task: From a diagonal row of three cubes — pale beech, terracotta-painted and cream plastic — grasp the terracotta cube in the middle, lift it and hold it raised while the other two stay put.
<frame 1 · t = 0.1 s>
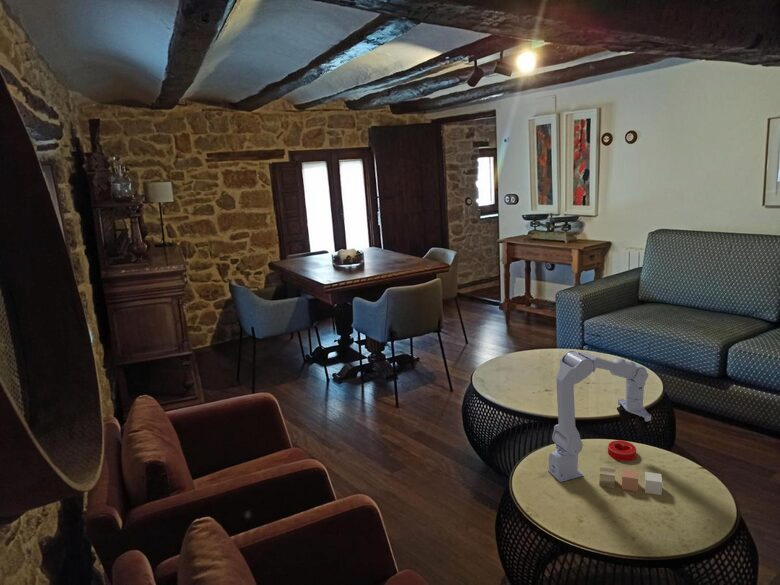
hand: (633, 430, 195), 10 cm above the table, fingers open, 7 cm apart
terracotta cube: (629, 486, 181), on the table
decorative ornament: (621, 454, 199), on the table
cream cube: (652, 489, 178), on the table
beech cube: (607, 482, 183), on the table
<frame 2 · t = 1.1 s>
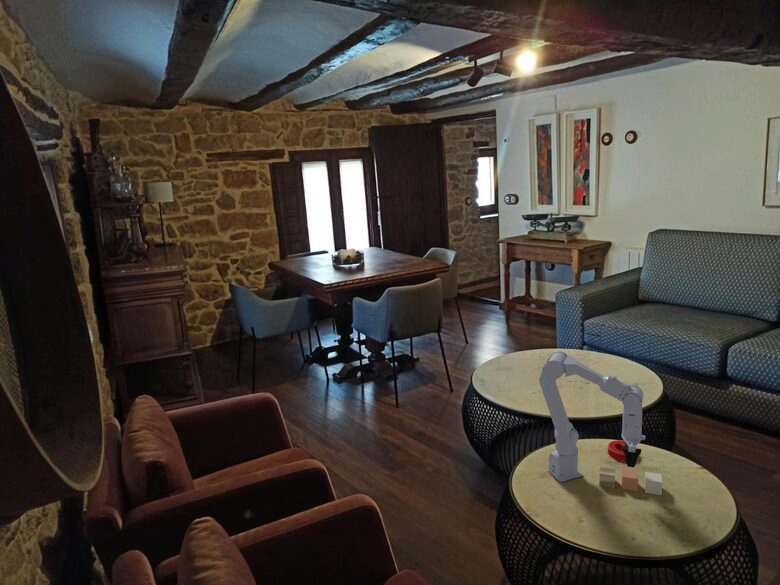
hand: (630, 460, 178), 10 cm above the table, fingers open, 7 cm apart
nothing on the table moved.
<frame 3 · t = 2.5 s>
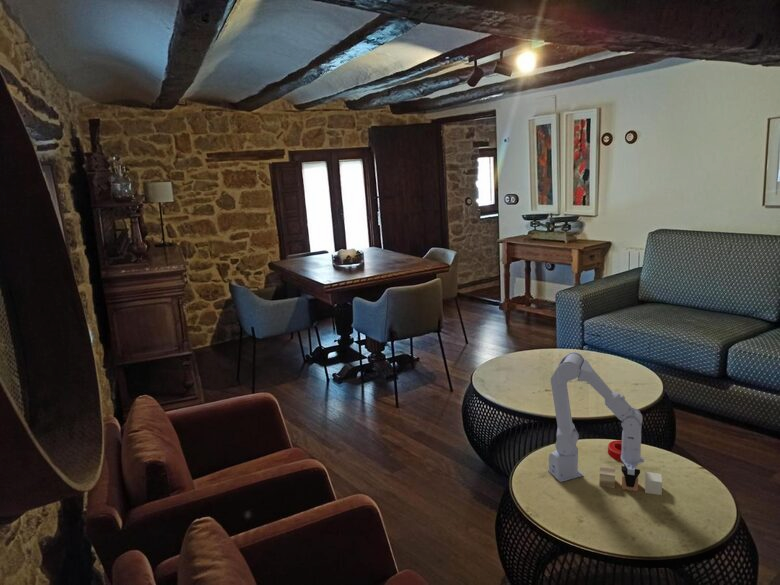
hand: (629, 481, 180), 2 cm above the table, fingers closed on terracotta cube, 5 cm apart
terracotta cube: (629, 486, 181), on the table, touching gripper
everything else where it was.
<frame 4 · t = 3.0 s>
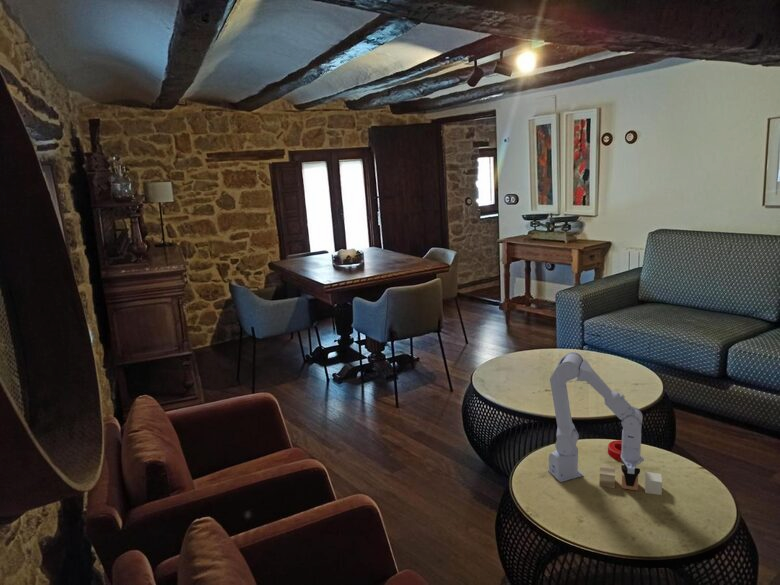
hand: (629, 480, 180), 2 cm above the table, fingers closed on terracotta cube, 5 cm apart
terracotta cube: (629, 485, 181), on the table, touching gripper
everything else where it was.
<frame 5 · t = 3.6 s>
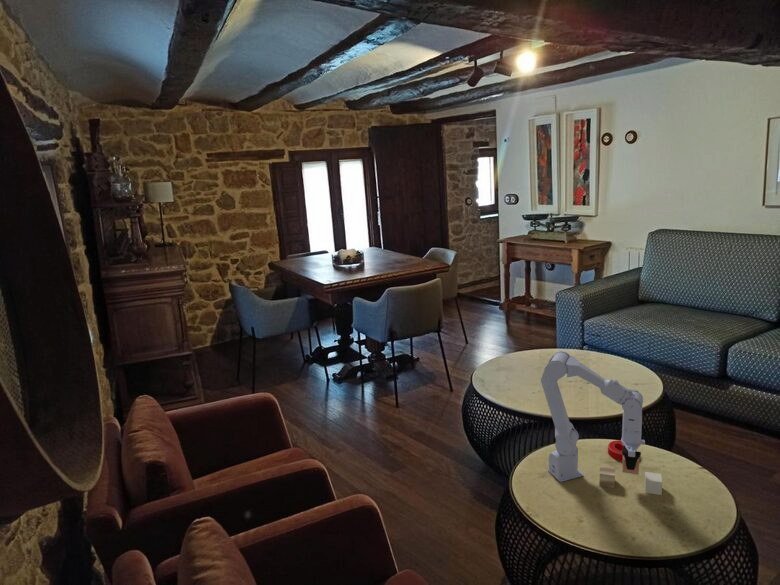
hand: (630, 464, 179), 8 cm above the table, fingers closed on terracotta cube, 5 cm apart
terracotta cube: (630, 469, 179), point 6 cm above the table, touching gripper
everything else where it was.
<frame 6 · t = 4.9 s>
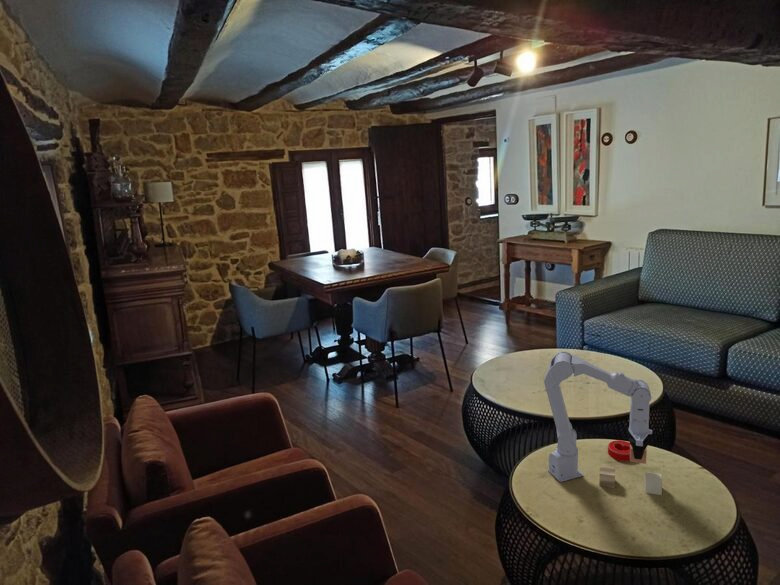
hand: (637, 454, 180), 10 cm above the table, fingers closed on terracotta cube, 5 cm apart
terracotta cube: (637, 458, 181), point 8 cm above the table, touching gripper
everything else where it was.
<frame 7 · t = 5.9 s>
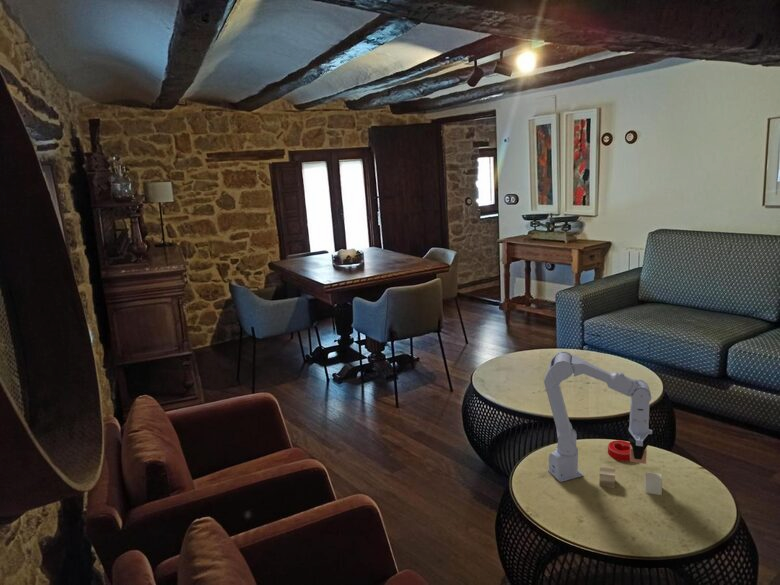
hand: (637, 454, 180), 10 cm above the table, fingers closed on terracotta cube, 5 cm apart
terracotta cube: (637, 458, 181), point 8 cm above the table, touching gripper
everything else where it was.
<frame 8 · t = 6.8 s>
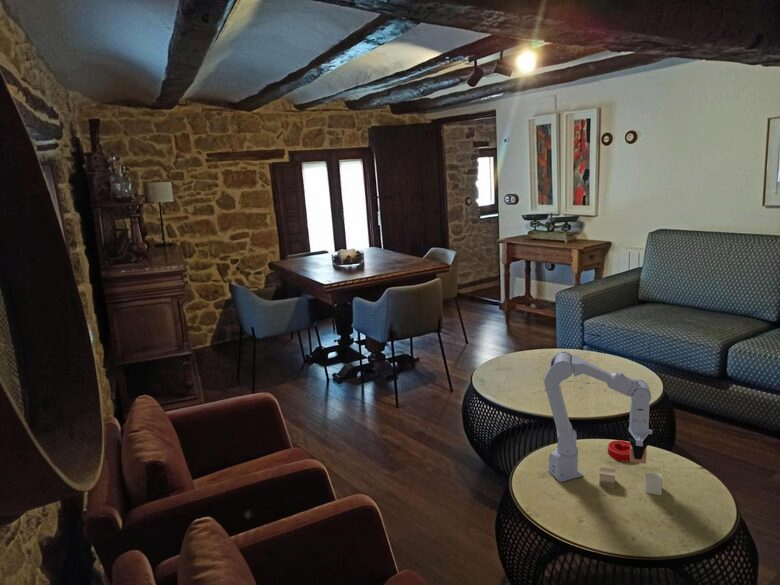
hand: (637, 454, 180), 10 cm above the table, fingers closed on terracotta cube, 5 cm apart
terracotta cube: (637, 458, 181), point 8 cm above the table, touching gripper
everything else where it was.
at the end: terracotta cube point 8.5 cm above the table; beech cube moved 0.1 cm from its start; cream cube moved 0.1 cm from its start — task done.
